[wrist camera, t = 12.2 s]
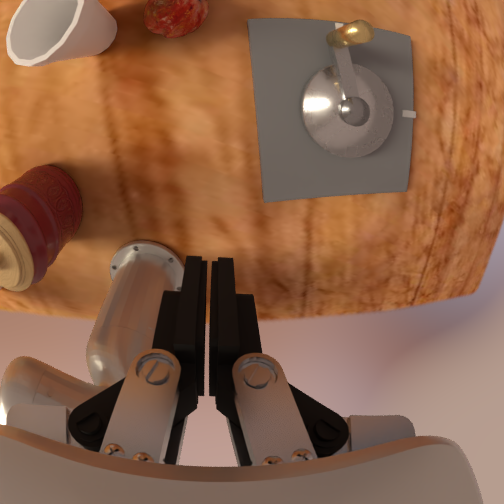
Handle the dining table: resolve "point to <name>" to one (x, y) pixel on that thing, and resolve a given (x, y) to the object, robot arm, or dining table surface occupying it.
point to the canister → (36, 224)
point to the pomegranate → (175, 16)
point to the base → (289, 121)
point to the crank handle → (346, 99)
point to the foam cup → (58, 31)
